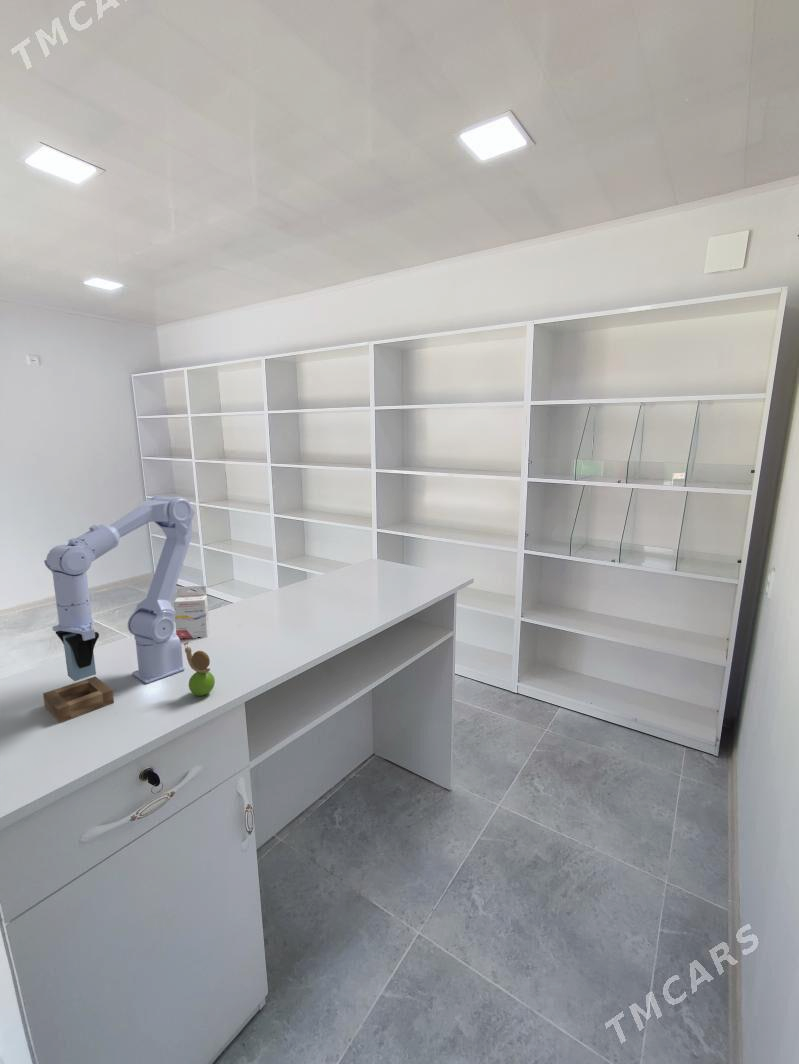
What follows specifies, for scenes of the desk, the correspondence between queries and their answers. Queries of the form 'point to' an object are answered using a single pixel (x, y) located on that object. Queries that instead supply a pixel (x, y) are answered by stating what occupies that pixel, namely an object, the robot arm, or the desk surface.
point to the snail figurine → (199, 672)
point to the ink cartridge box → (191, 612)
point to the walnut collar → (78, 698)
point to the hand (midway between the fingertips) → (80, 663)
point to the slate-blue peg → (72, 666)
